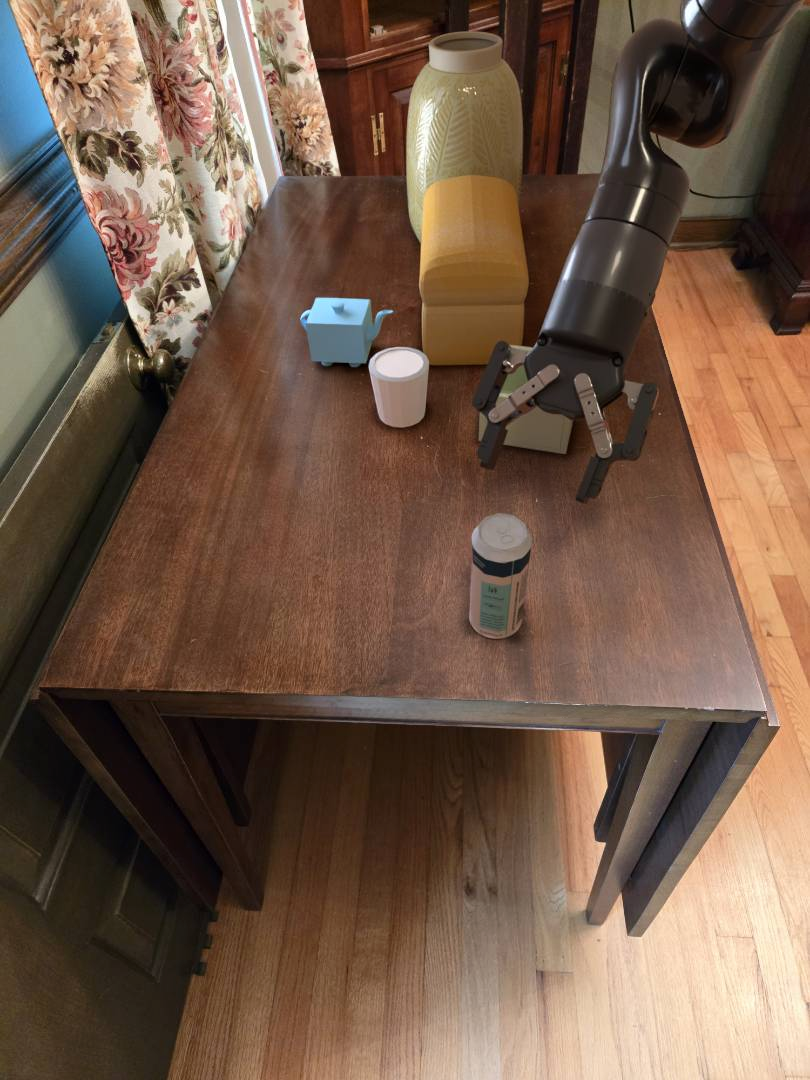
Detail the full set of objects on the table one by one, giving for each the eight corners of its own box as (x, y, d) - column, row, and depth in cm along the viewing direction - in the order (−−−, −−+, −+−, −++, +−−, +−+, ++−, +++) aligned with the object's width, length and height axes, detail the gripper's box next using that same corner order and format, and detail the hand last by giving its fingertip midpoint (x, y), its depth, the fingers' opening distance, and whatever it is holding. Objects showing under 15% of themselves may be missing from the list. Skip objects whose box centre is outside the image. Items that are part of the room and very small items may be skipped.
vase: (391, 232, 118) (379, 37, 98) (484, 208, 123) (490, 16, 103) (439, 278, 108) (436, 69, 88) (538, 250, 112) (557, 45, 92)
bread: (522, 365, 92) (532, 251, 81) (421, 366, 93) (417, 254, 82) (511, 269, 108) (518, 164, 97) (425, 272, 109) (422, 167, 98)
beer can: (509, 593, 68) (518, 503, 59) (530, 633, 65) (543, 544, 56) (461, 607, 67) (462, 518, 58) (480, 648, 64) (485, 560, 55)
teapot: (399, 344, 97) (396, 292, 91) (392, 370, 93) (388, 318, 87) (311, 340, 98) (303, 289, 93) (301, 366, 94) (292, 314, 89)
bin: (577, 401, 87) (585, 353, 82) (565, 454, 81) (573, 406, 76) (496, 389, 89) (498, 343, 84) (478, 440, 83) (480, 393, 78)
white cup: (364, 405, 88) (359, 355, 83) (415, 389, 90) (413, 339, 85) (387, 437, 84) (383, 387, 79) (440, 419, 86) (439, 369, 80)
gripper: (510, 258, 57) (441, 453, 59) (691, 300, 52) (609, 512, 54) (532, 289, 64) (470, 463, 66) (694, 329, 59) (620, 516, 61)
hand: (532, 485), depth 60 cm, fingers open, 8 cm apart
